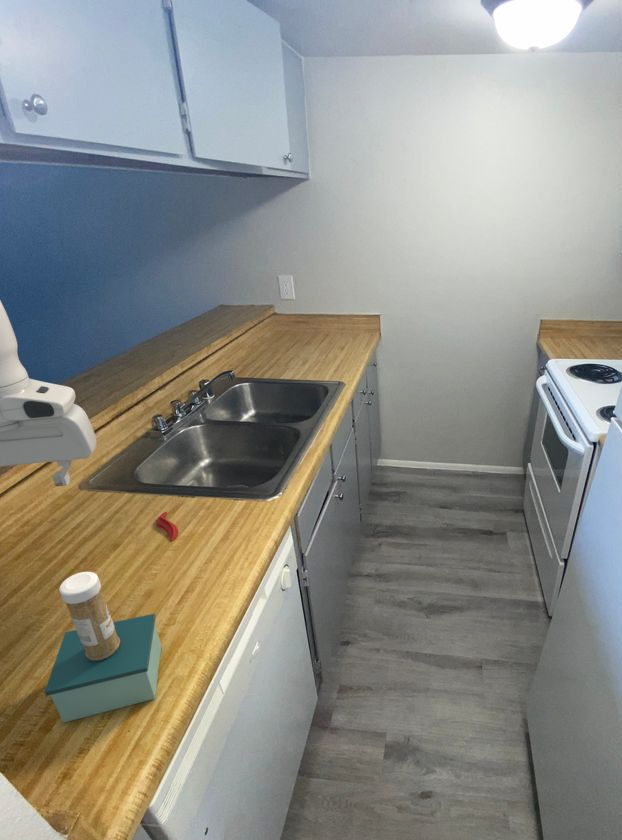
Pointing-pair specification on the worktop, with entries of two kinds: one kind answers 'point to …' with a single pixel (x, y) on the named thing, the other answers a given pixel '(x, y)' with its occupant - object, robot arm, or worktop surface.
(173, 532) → the cayenne pepper
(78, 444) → the robot arm
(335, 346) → the worktop surface
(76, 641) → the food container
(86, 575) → the sprinkles bottle
